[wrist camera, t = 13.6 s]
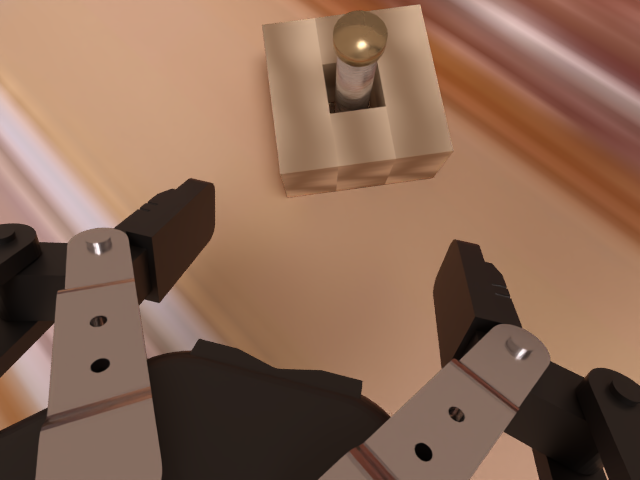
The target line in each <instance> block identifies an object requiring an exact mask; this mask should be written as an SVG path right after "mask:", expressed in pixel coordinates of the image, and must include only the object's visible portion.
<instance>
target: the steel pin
mask: <svg viewBox="0 0 640 480" xmlns="http://www.w3.org/2000/svg"><path fill="white" fill-rule="evenodd" d="M387 37H388V32H387V27H386V25H385V23H384V22H383V21H382V19H380V18H379V17H378V16H377V15H375V14H373V13H371V12H367V11H353V12H349V13H347V14H345V15H343V16H342V17H341V18H340V19H339V20H338V21H337V22H336V24H335V26H334V30H333V49H334V52H335V54H336V56H337V68H336V89H335V110H334V113H340V112H348V111H355V110H363V109H368V105H369V100H370V95H371V90H372V85H373V80H374V75H375V70H376V66H377V61H378V60H379V59H380V58H381V56H382V55H383V53H384V50H385V47H386V42H387Z"/></svg>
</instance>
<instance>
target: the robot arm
mask: <svg viewBox="0 0 640 480" xmlns="http://www.w3.org/2000/svg"><path fill="white" fill-rule="evenodd" d="M214 228H215V187H214V184H213V183H210V182H205V181H201V180H197V179H192V178H190V179H188V180H187V181H185V182H184V183H183V184H182V185H181V186H179V187H178V188H177V189H176V190H175V189H170V190H167V191H164V192H162V193H159V194H157V195H156V196H154V197H153V198H152V199H151V200H149V201H148V203H146V204H144V205H143V206H142V207H140V210H139V209H138V210H137V211H135V212H134V213H133V214H131V215H130V216H129V217H128V218H126V219H125V220H124V221H122V222H121V223H120V224H119V225H117V226H116V227H115V228H114V229H113V228H95V229H90V230H86V231H83V232H81V233H79V234H77V235H75V236H74V237H73V238H71V240H70V241H69V242H68V243H47V242H39V241H38V238H37V234H36V231H35V230H34V229H33V228H32V227H30V226H28V225H24V224H1V225H0V377H1V376H2V375H3V374H4V373H5V372H6V371H7V370H8V369H9V368H10V367H11V366H12V365H13V364H14V363H15V362H16V361H17V360H18V359H19V358H20V357H21V356H22V355H23V354H24V353H25V352H26V351H27V350H28V349H29V348H30V347H31V346H32V345H33V344H34V343H35V342H36V341H37V340H38V339H39V338H40V337H41V336H42V335H43V334H44V333H45V332H46V331H47V330H48V329H49V328H50V327H51V326H52V325H53V324H54V336H53V349H52V362H51V375H50V388H49V401H48V408H46V409H44V410H42V411H40V412H38V413H36V414H34V415H31V416H29V417H27V418H25V419H23V420H21V421H19V422H17V423H15V424H13V425H11V426H9V427H7V428H5V429H3V430H1V431H0V480H470V478H471V477H472V475H473V474H474V473H475V471H476V470H477V468H478V467H479V465H480V464H481V463H482V461H483V460H484V458H485V457H486V455H487V454H488V453H489V451H490V450H491V448H492V447H493V446H494V444H495V443H496V441H497V440H498V438H499V437H500V436H501V434H502V433H503V432H505V433H507V434H509V435H510V436H512V437H514V438H516V439H517V440H519V441H521V442H523V443H525V444H526V445H528V446H530V447H532V451H533V455H534V459H535V463H536V467H537V472H538V476H539V480H607V478H606V476H605V473H604V471H603V467H604V468H605V470H606V473H607V475H608V478H609V480H640V386H639V385H638V384H637V383H635V382H634V381H633V380H631V379H630V378H628V377H626V376H624V375H623V374H621V373H618V372H616V371H613V370H610V369H606V368H595V369H593V370H591V371H590V372H589V373H588V374H587V376H586V377H585V378H584V377H582V376H580V375H578V374H576V373H573V372H571V371H569V370H567V369H565V368H563V367H561V366H559V365H557V364H555V363H553V362H551V361H550V355H549V352H548V350H547V348H546V347H545V346H544V344H543V343H542V342H541V341H540V340H539V339H538V338H537V337H535V336H534V335H533V334H531V333H530V332H528V331H526V330H524V329H522V326H521V323H520V321H519V318H518V315H517V313H516V310H515V307H514V305H513V302H512V299H510V294H509V291H508V289H506V287H507V286H506V284H505V281H504V278H503V276H502V274H501V273H500V272H499V271H498V270H497V269H496V268H495V266H494V265H493V264H492V263H487V262H485V261H484V258H483V255H482V252H481V249H480V246H479V245H477V244H473V243H469V242H464V241H460V240H456V239H455V240H453V241H452V243H451V245H450V247H449V249H448V251H447V254H446V256H445V258H444V261H443V263H442V265H441V268H440V270H439V272H438V275H437V277H436V280H435V284H434V290H433V297H434V305H435V314H436V323H437V332H438V340H439V349H440V358H441V367H442V369H441V370H440V371H439V372H438V373H437V374H436V375H435V376H434V377H433V378H432V379H431V380H430V381H429V382H428V383H427V384H426V385H425V386H423V387H422V388H421V389H420V390H419V391H418V392H417V393H416V394H415V395H414V396H413V397H412V398H411V399H410V400H409V401H408V402H407V403H405V404H404V405H403V406H402V407H401V408H400V409H399V410H398V411H397V412H396V413H395V414H394V415H393V416H392V417H390V416H389V415H388V414H387V413H386V412H385V411H384V410H383V409H382V408H381V407H379V406H378V405H377V404H376V403H374V402H373V401H371V400H370V399H368V398H366V397H365V396H363V395H361V391H362V381H361V380H357V379H353V378H349V377H345V376H341V375H337V374H334V373H330V372H326V371H322V370H294V369H277V368H274V367H272V366H270V365H268V364H266V363H264V362H262V361H260V360H258V359H256V358H255V357H253V356H251V355H249V354H247V353H245V352H243V351H241V350H239V349H237V348H233V347H229V346H225V345H221V344H217V343H214V342H210V341H206V340H202V339H199V340H198V341H197V343H196V345H195V346H194V348H193V349H192V351H179V352H172V353H166V354H162V355H158V356H155V357H152V358H149V359H147V355H146V348H145V342H144V335H143V329H142V322H141V316H140V309H139V305H140V304H141V303H142V301H143V300H144V299H145V300H149V301H153V302H157V303H160V302H161V300H162V299H163V298H164V297H165V295H166V294H167V293H168V292H169V291H170V289H171V288H172V287H173V286H174V284H175V283H176V282H177V281H178V279H179V278H180V277H181V276H182V274H183V273H184V272H185V271H186V269H187V268H188V267H189V266H190V264H191V263H192V262H193V261H194V260H195V258H196V257H197V256H198V255H199V253H200V252H201V251H202V250H203V248H204V247H205V246H206V245H207V243H208V242H209V241H210V239H211V237H212V235H213V232H214Z"/></svg>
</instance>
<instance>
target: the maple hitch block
mask: <svg viewBox="0 0 640 480" xmlns="http://www.w3.org/2000/svg"><path fill="white" fill-rule="evenodd" d="M367 12H371V13H373V14H375V15H377V16H378V17H379V18H380V19H382V21H383V22H384V23H385V25H386V27H387V32H388V37H387V42H386V47H385V50H384V53H383V55H382V56H381V58H380V59H379V60H378V61H377V66H376V70H375V75H374V80H373V85H372V90H371V95H370V100H369V102H370V107H371V108H370V109H363V110H355V111H348V112H340V113H332V114H330V111H329V105H328V103H330V102H335V89H336V68H337V56H336V54H335V52H334V49H333V30H334V26H335V24H336V22H337V21H338V20H339V19H340V18H341V17H342V16H343V15H345V14H343V15H335V16H327V17H319V18H312V19H304V20H296V21H288V22H281V23H273V24H265V25H262V29H263V38H264V46H265V54H266V62H267V70H268V79H269V87H270V95H271V103H272V111H273V119H274V128H275V136H276V144H277V152H278V160H279V169H280V175H281V178H282V182H283V185H284V188H285V191H286V194H287V197H288V198H289V197H296V196H303V195H311V194H318V193H325V192H333V191H340V190H347V189H355V188H362V187H370V186H377V185H384V184H392V183H399V182H406V181H414V180H421V179H428V178H433V177H434V176H435V175H436V173H437V172H438V171H439V169H440V168H441V167H442V165H443V164H444V163H445V162H446V160H447V159H448V158H449V156H450V155H451V154H452V152H453V151H454V150H453V146H452V141H451V137H450V133H449V128H448V124H447V120H446V115H445V111H444V107H443V102H442V98H441V94H440V89H439V85H438V80H437V76H436V72H435V67H434V63H433V59H432V54H431V50H430V46H429V41H428V37H427V33H426V28H425V24H424V20H423V15H422V11H421V6H420V5H412V6H405V7H397V8H389V9H381V10H374V11H367Z"/></svg>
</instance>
